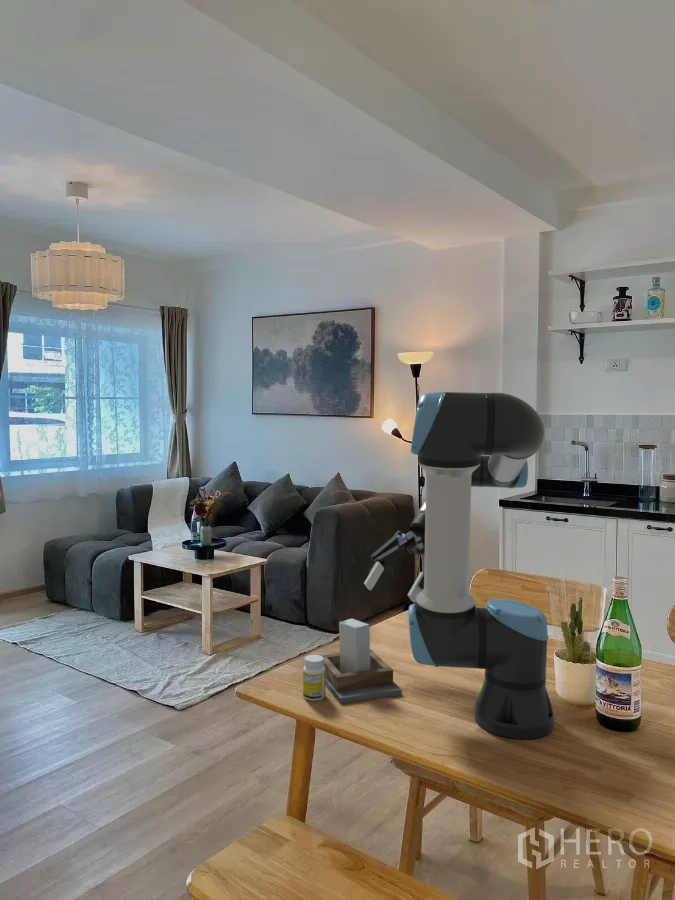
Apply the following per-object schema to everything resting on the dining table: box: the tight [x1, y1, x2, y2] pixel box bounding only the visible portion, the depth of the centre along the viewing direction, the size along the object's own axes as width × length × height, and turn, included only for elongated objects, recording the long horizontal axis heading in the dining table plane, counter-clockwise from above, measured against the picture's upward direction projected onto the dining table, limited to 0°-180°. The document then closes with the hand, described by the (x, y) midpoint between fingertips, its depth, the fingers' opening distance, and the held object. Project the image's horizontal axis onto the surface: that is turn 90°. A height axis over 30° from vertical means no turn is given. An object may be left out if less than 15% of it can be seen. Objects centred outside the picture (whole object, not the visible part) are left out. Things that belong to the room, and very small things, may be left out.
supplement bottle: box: [302, 654, 326, 702], centre depth 148 cm, size 5×5×8 cm
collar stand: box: [320, 649, 403, 704], centre depth 156 cm, size 20×14×4 cm
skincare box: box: [338, 618, 371, 674], centre depth 156 cm, size 6×4×12 cm
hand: (388, 592), depth 163 cm, fingers open, 13 cm apart
